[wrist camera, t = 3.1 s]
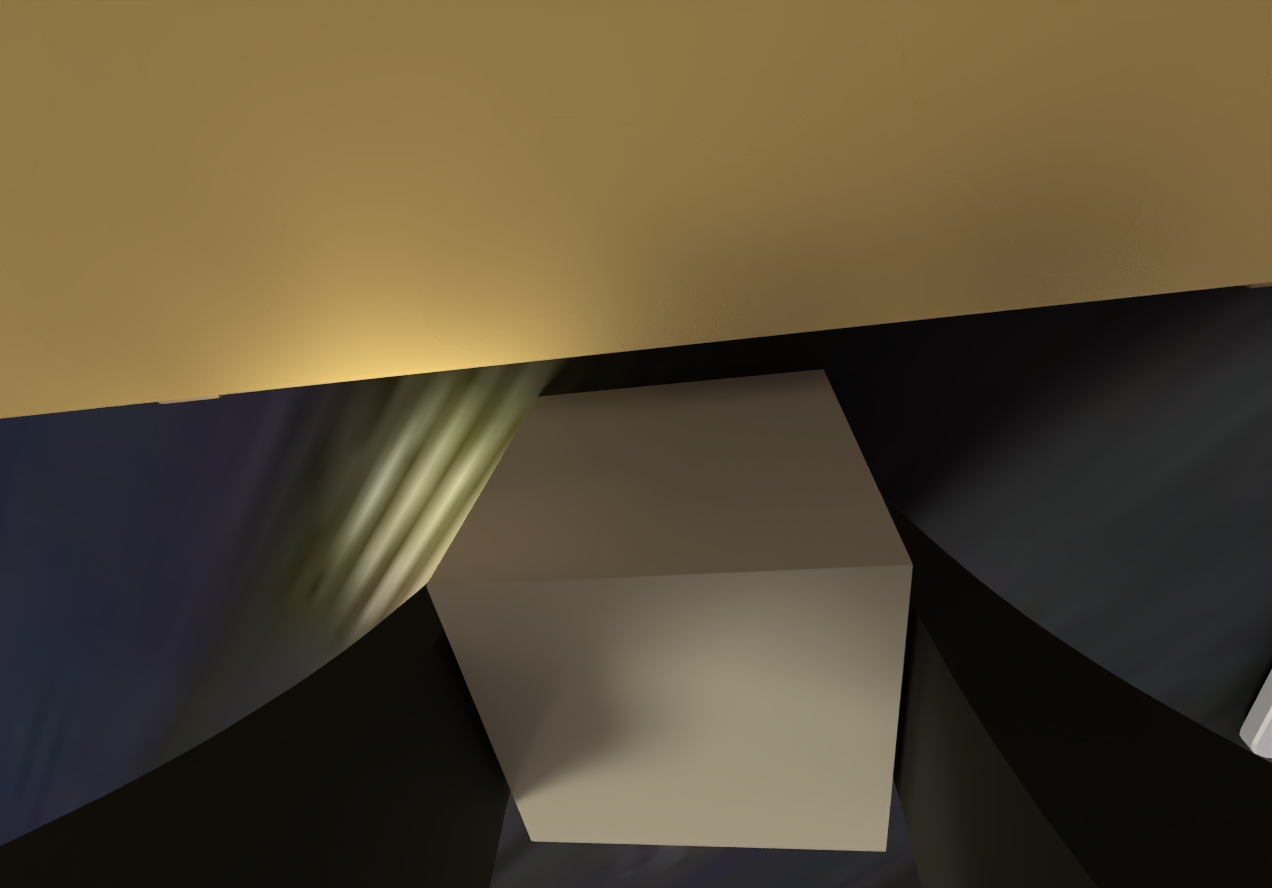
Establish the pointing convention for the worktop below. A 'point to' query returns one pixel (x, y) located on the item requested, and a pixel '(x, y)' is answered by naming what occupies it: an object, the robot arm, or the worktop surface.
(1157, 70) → the trapdoor
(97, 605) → the worktop surface
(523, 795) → the stone block
